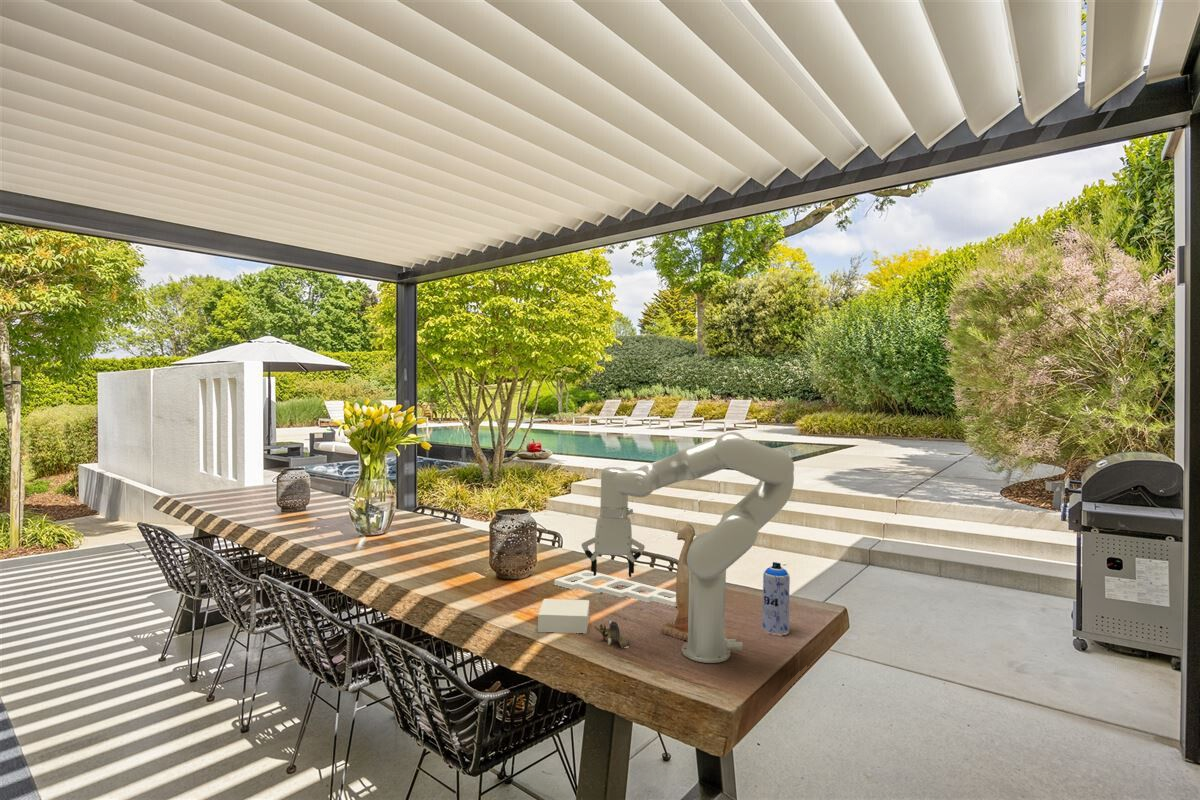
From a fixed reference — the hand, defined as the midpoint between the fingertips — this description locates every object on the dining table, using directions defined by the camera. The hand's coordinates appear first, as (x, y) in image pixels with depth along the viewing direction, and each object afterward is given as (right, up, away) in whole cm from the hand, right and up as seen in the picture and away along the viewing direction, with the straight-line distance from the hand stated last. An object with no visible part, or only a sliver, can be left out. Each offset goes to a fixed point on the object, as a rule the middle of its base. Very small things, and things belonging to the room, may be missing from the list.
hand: (612, 575), depth 166 cm
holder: (+3, -20, +43) cm, 48 cm away
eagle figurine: (0, -19, -1) cm, 19 cm away
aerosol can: (+48, -20, +11) cm, 53 cm away
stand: (-14, -18, +13) cm, 26 cm away
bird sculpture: (+22, -19, +8) cm, 30 cm away
